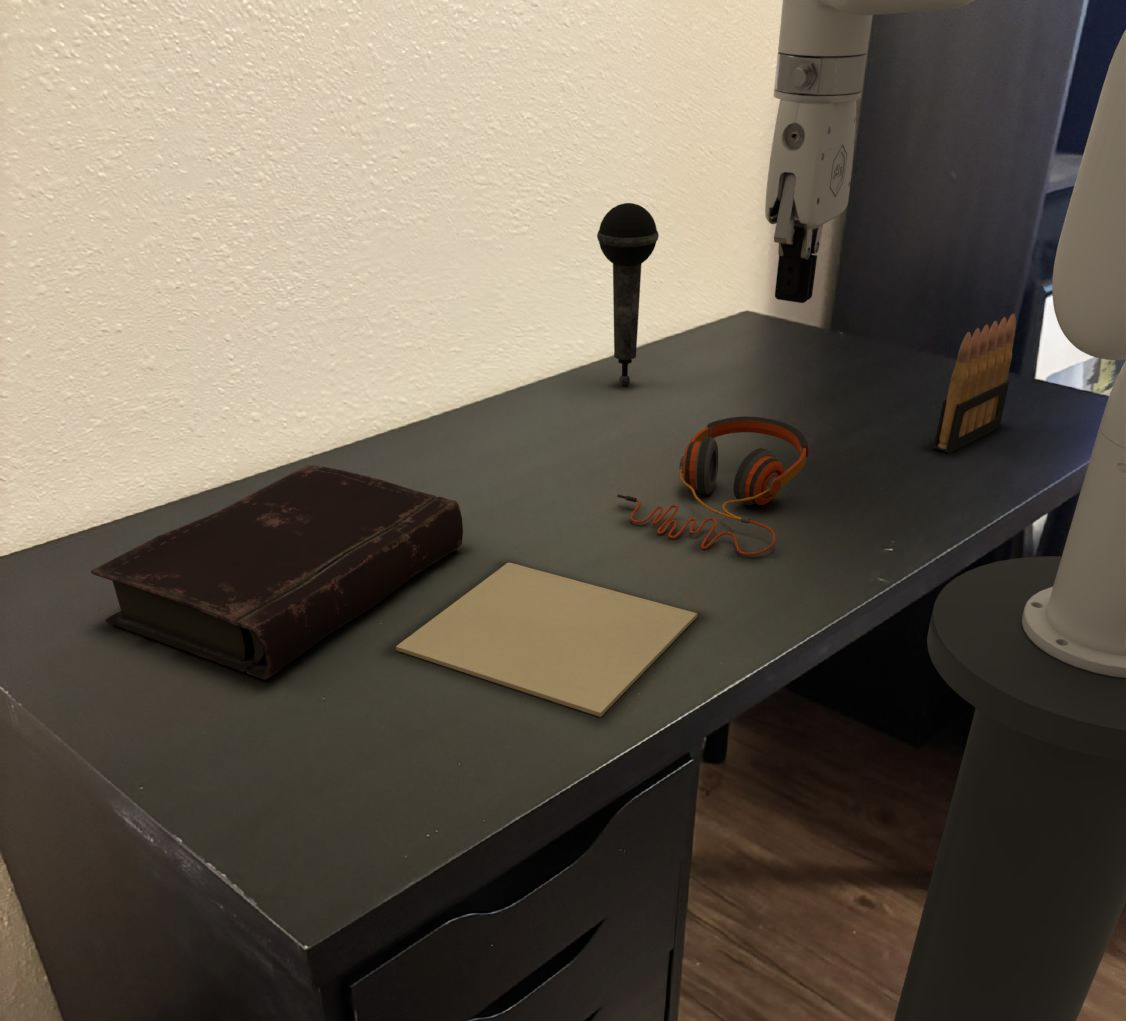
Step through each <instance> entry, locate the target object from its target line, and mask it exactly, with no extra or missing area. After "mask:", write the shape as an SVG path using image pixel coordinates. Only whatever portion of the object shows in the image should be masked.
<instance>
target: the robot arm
mask: <svg viewBox="0 0 1126 1021" xmlns="http://www.w3.org/2000/svg"><path fill="white" fill-rule="evenodd" d="M975 1H976V0H782V3H781V4H782V5H781V16H780V25H779V35H778V47H777V55H776V65H775V77H774V86H773V87H774V88H773V98H774V99H778V100H779V104H778V108H777V114H776V118H775V125H774V130H773V138H772V144H771V150H770V158H769V164H768V165H769V166H768V170H767V181H766V190H765V191H766V193H765V201H764V202H765V206H764V215H765V216H764V217H765V219H766V220H767V222H768V223H769V224H770V225H775V230H774V234H773V242H774V243H777V244H778V249H777V250H778V252H777V253H778V261H777V271H776V281H775V288H774V298H775V299H776V300H779V301H786V302H791V303H797V304H804V303H806V302H807V301H809V300H811V299H812V297H813V291H814V283H815V276H816V269H817V261H818V255H817V254H818V252H819V250H820V246H821V245H820V244H821V240H822V234H823V227H824V225H825V224H826V223H828V222H830V221H832V220H833V219H835V218H837V217H838V216H840V215H841V214H842V213H843V212H844V211H846V209H847V207H848V205H849V199H850V190H851V183H852V182H851V180H852V172H853V171H852V170H853V162H854V161H853V160H854V152H855V151H854V150H855V139H856V127H857V126H856V125H857V124H856V123H857V101H859V100H860V99H861V98H862V94H863V86H864V79H865V70H866V65H867V58H868V57H867V56H868V50H869V40H870V37H871V31H872V30H871V29H872V23H873V22H872V21H873V16H875V15H894V14H901V13H903V14H905V13H922V12H923V13H925V12H926V13H927V12H944V11H945V12H946V11H947V12H948V11H953V10H957V9H961V8H963V7H965V6H967V5H969V4H971V3H973V2H975ZM1098 98H1099V99H1098V102H1097V104H1096V105H1097V106H1096V108H1095V113H1094V116H1093V120H1092V123H1091V126H1090V129H1089V130H1090V131H1089V133H1088V137H1087V140H1086V144H1085V147H1084V152H1083V155H1082V158H1081V161H1080V165H1079V169H1078V172H1077V175H1076V179H1075V183H1074V186H1073V189H1072V193H1071V196H1070V201H1069V204H1068V207H1067V210H1066V215H1065V218H1064V222H1063V225H1062V228H1061V232H1060V236H1059V240H1058V244H1057V248H1056V253H1055V257H1054V262H1053V263H1054V264H1053V271H1052V279H1051V280H1052V281H1051V283H1052V284H1051V295H1052V305H1053V310H1054V314H1055V318H1056V321H1057V323H1058V326H1059V329H1060V330H1061V332H1062V334H1063V335H1064V337H1065V338H1066V339H1067V340H1068V342H1069V343H1070V344H1071V345H1072V346H1074V348H1076V349H1077V350H1079V351H1080V352H1082V353H1084V354H1086V355H1088V356H1091V357H1093V358H1096V359H1102V360H1106V361H1107V360H1108V361H1124V363H1123V365H1122V366H1121V369H1120V371H1119V373H1118V375H1117V377H1116V379H1115V381H1114V383H1113V386H1112V388H1111V391H1110V393H1109V396H1108V399H1107V402H1106V404H1105V407H1104V411H1103V414H1102V418H1101V421H1100V424H1099V427H1098V431H1097V434H1096V437H1095V440H1094V444H1093V447H1092V452H1091V455H1090V457H1089V462H1088V465H1087V468H1086V472H1085V475H1084V479H1083V482H1082V485H1081V489H1080V492H1079V496H1078V500H1077V503H1076V507H1075V509H1074V514H1073V516H1072V520H1071V524H1070V527H1069V531H1068V534H1067V536H1066V541H1065V545H1064V548H1063V551H1062V555H1061V557H1062V558H1061V561H1060V565H1059V568H1058V572H1057V575H1056V579H1055V582H1054V585H1053V587H1051V588H1048V589H1045V590H1042V591H1040V592H1038V593H1037V594H1035V595H1033V596H1032V597H1031V598H1030V599H1029V600H1028V601H1027V603H1026V606H1025V608H1024V612H1023V616H1022V625H1023V629H1024V631H1025V632H1026V634H1027V636H1028V637H1029V638H1030V639H1031V640H1032V641H1033V642H1034V643H1035V644H1036V645H1037V646H1038V647H1039V648H1040V649H1042V650H1043V651H1045V652H1046V653H1047V654H1049V655H1051V656H1052V657H1054V658H1056V659H1058V660H1060V661H1062V662H1064V663H1067V664H1069V665H1071V666H1074V667H1076V668H1079V669H1083V670H1086V671H1089V672H1092V673H1096V674H1101V675H1106V676H1111V677H1118V678H1126V29H1125V30H1124V32H1123V34H1122V35H1121V38H1120V40H1119V42H1118V44H1117V46H1116V48H1115V50H1114V53H1113V55H1112V58H1111V61H1110V63H1109V65H1108V70H1107V72H1106V75H1105V79H1104V82H1103V85H1102V88H1101V91H1100V94H1099V97H1098Z"/></svg>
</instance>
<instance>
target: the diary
mask: <svg viewBox="0 0 1126 1021" xmlns="http://www.w3.org/2000/svg"><path fill="white" fill-rule="evenodd" d="M463 523H464V522H463V516H462V512H461V508H460V504H459V502H458V501H457V500H456V499H450V498H446V497H442V496H436V495H435V494H432V493H426V492H423V491H420V490H419V491H418V490H415V489H413V488H412V489H411V488H409V487H407V486H406V487H405V486H402V485H399V484H395V483H393V482H389V481H386V480H383V479H380V478H375V477H372V476H368V475H364V474H360V473H355V472H352V471H348V470H344V469H338V468H333V467H332V468H331V467H328V466H323V465H316V464H307V465H305V466H303V467H300V468H298V469H297V470H295V471H293V472H291V473H290V474H287V475H285V476H284V477H282V478H280V479H277V480H276V481H274V482H272V483H270V484H268V485H266V486H264V487H262V488H261V489H259V490H257V491H254V492H253V493H251V494H249V495H247V496H245V497H243V498H241V499H239V500H237V501H235V502H232V503H231V504H229V505H227V506H225V507H224V508H221V509H219V510H218V511H216V512H213V513H212V514H209V515H207V516H204V517H201V518H199V519H197V520H194V521H192V522H190V523H187V524H184V525H183V526H182V525H181V526H179V527H177V528H175V529H172V530H169V531H167V532H165V533H162V534H159V535H157V536H156V537H153V538H152V539H150V540H147V541H145V542H143V543H142V544H140V545H138V546H136V547H134V548H132V549H130V550H128V551H127V552H125V553H122V554H121V555H119V556H117V557H115V558H113V559H111V560H108V561H107V562H105V563H103V564H101V565H99V566H97V567H95V568H94V569H92V570H91V572H90V573H91V574H92V575H94V576H97V577H100V578H103V579H106V580H109V581H112V584H113V589H114V592H115V594H116V599H117V602H118V605H119V608H120V611H118V612H116V613H114V614H112V615H111V616H109V617H107V618H106V619H105V622H106V623H108V624H109V625H110V624H111V625H113V626H116V627H119V628H121V629H124V630H127V631H130V632H132V633H135V634H138V635H140V636H143V637H146V638H149V639H152V640H154V641H157V642H160V643H163V644H164V645H167V646H168V645H169V646H170V647H173V648H175V649H179V650H181V651H185V652H187V653H190V654H192V655H196V656H198V657H201V658H203V659H206V660H209V661H212V662H214V663H217V664H220V665H223V666H225V667H228V668H231V669H233V670H237V671H239V672H241V673H245V672H246V674H248V675H250V676H253V677H255V678H258V679H261V680H264V681H266V680H269V679H270V678H271V677H272V676H274V675H275V674H277V673H278V672H279V671H281V670H282V669H283V668H285V667H286V666H288V665H289V664H290V663H292V662H293V661H294V660H296V659H297V658H298V657H300V656H301V655H303V654H304V653H306V652H307V651H308V650H309V649H311V648H312V647H313V646H315V645H316V644H317V643H319V642H321V640H323V639H325V638H326V637H327V636H329V635H330V634H332V633H333V632H335V631H337V630H339V629H340V628H342V627H343V626H345V625H347V623H349V622H351V621H353V620H354V619H356V618H357V617H358V616H360V615H362V614H363V613H365V612H367V611H368V610H370V609H371V608H374V606H376V605H377V604H378V603H380V602H381V601H383V600H384V599H385V598H386V597H388V596H389V595H390V594H392V593H393V592H394V591H396V590H397V589H399V588H400V587H401V586H403V585H404V584H405V583H407V582H408V581H409V580H411V579H412V578H413V577H414V576H416V575H418V574H419V573H421V572H422V571H424V570H426V569H427V568H429V567H430V566H432V565H433V564H435V563H438V561H440V560H442V559H443V558H445V557H446V556H448V555H449V554H451V553H453V552H454V551H456V550H457V549H460V547H461V546H462V545H463V536H464V524H463Z"/></svg>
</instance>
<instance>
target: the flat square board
mask: <svg viewBox="0 0 1126 1021" xmlns="http://www.w3.org/2000/svg"><path fill="white" fill-rule="evenodd" d="M697 618H698V613H697V612H694V611H691V610H686V609H682V608H679V607H676V606H671V605H668V604H665V603H660V602H657V601H653V600H649V599H646V598H642V597H638V596H634V595H631V594H627V593H624V592H620V591H616V590H613V589H609V588H605V587H601V586H597V585H595V584H591V583H587V582H583V581H580V580H575V579H572V578H569V577H564V576H560V575H557V574H554V573H550V572H546V571H542V570H538V569H536V568H531V567H528V566H524V565H520V564H516V563H513V562H506V563H505V564H504V565H502V566H501V567H500V568H499V569H497V570H496V571H495V572H493V573H492V574H490V575H489V576H488V577H486V578H485V579H484V580H483V581H481V582H480V583H478V584H477V585H476V586H474V587H473V588H472V589H470V590H469V591H468V592H466V593H465V594H464V595H463V596H461V597H459V599H458V600H456V601H454V602H453V603H452V604H451V605H449V606H448V607H447V608H445V609H444V610H443V611H440V613H439V614H437V615H435V616H434V617H433V618H431V620H429V621H428V622H427V623H425V624H424V625H422V626H421V627H419V629H416V631H414V632H413V633H412V634H410V635H409V636H408V637H406V638H405V639H403V641H401V642H399V643H398V644H397V645H396V646H395V649H396V651H397V652H400V653H403V654H406V655H409V656H412V657H415V658H418V659H422V660H424V661H427V662H429V663H430V662H431V663H433V664H437V665H439V666H443V667H445V668H449V669H452V670H455V671H457V672H461V673H465V674H467V675H470V676H473V677H476V678H479V679H482V680H486V681H489V682H492V683H495V684H498V685H500V686H504V687H507V688H510V689H513V690H516V691H519V692H522V693H525V694H528V695H531V696H534V697H537V698H541V699H544V700H547V701H550V702H553V703H556V704H559V705H562V706H565V707H567V708H571V709H574V710H576V711H577V710H578V711H581V712H583V713H585V714H586V713H587V714H589V715H593V716H596V717H599V718H601V717H602V716H603V715H605V713H606V712H607V711H609V709H610V708H611V707H612V706H613V705H614V704H615V703H616V702H617V701H618V700H619V699H620V698H621V697H622V696H623V694H625V693H626V692H627V691H628V689H629V688H630V687H631V686H632V685H633V684H634V683H635V682H636V681H637V680H639V678H640V677H641V676H642V675H643V674H644V673H645V672H646V671H647V670H648V669H649V668H650V667H651V666H652V665H653V664H654V663H655V662H656V660H658V659H659V658H660V657H661V655H662V654H663V653H664V652H666V651H667V649H668V648H669V647H670V646H671V645H672V644H673V643H674V642H675V641H676V640H677V639H678V638H679V637H680V636H681V635H682V634H683V632H684V631H686V629H687V628H688V627H690V626H691V625H692V623H693V622H694V621H695V620H697Z"/></svg>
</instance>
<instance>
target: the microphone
mask: <svg viewBox="0 0 1126 1021" xmlns="http://www.w3.org/2000/svg"><path fill="white" fill-rule="evenodd" d="M596 238H597V241H598V244H599V248H600V250H601V252H602V254H603V256H604V257H605V258H606V259H607V260H608V261H609V263H611V264H612V289H613V290H612V295H613V298H612V300H613V303H612V304H613V356H614V357H613V358H614V359H617V360H618V361H617V362H618V363H619V364H621V375H620V376H619V378H618V382H619V384H620V386H622V387H626V386H628V385H629V384H630V382H631V378H630V376H629V375H628V374H629V364H632V363H633V359H634V360H635V358H637V350H638V348H637V347H638V331H639V330H638V327H639V313H640V299H641V298H640V296H641V280H642V264H643V263H644V262H646V261H647V260H648V258H650V257H651V255H652V254H653V252H654V250H655V247H656V244H657V241H659V231H658V229H657V224H656V221H655V219H654V217H653V216H652V214H651V213H650V212H649V211H648V210H647V209H646V208H645V207H643V206H641V205H640V204H637V203H633V202H624V203H620V204H617V205H616V206H613V207H612V208H611V209H610V210H609V211H607V212H606V214H605V215H604V217H603V218H602V220H601V221H600V225H599V229H598V231H597V234H596Z"/></svg>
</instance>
